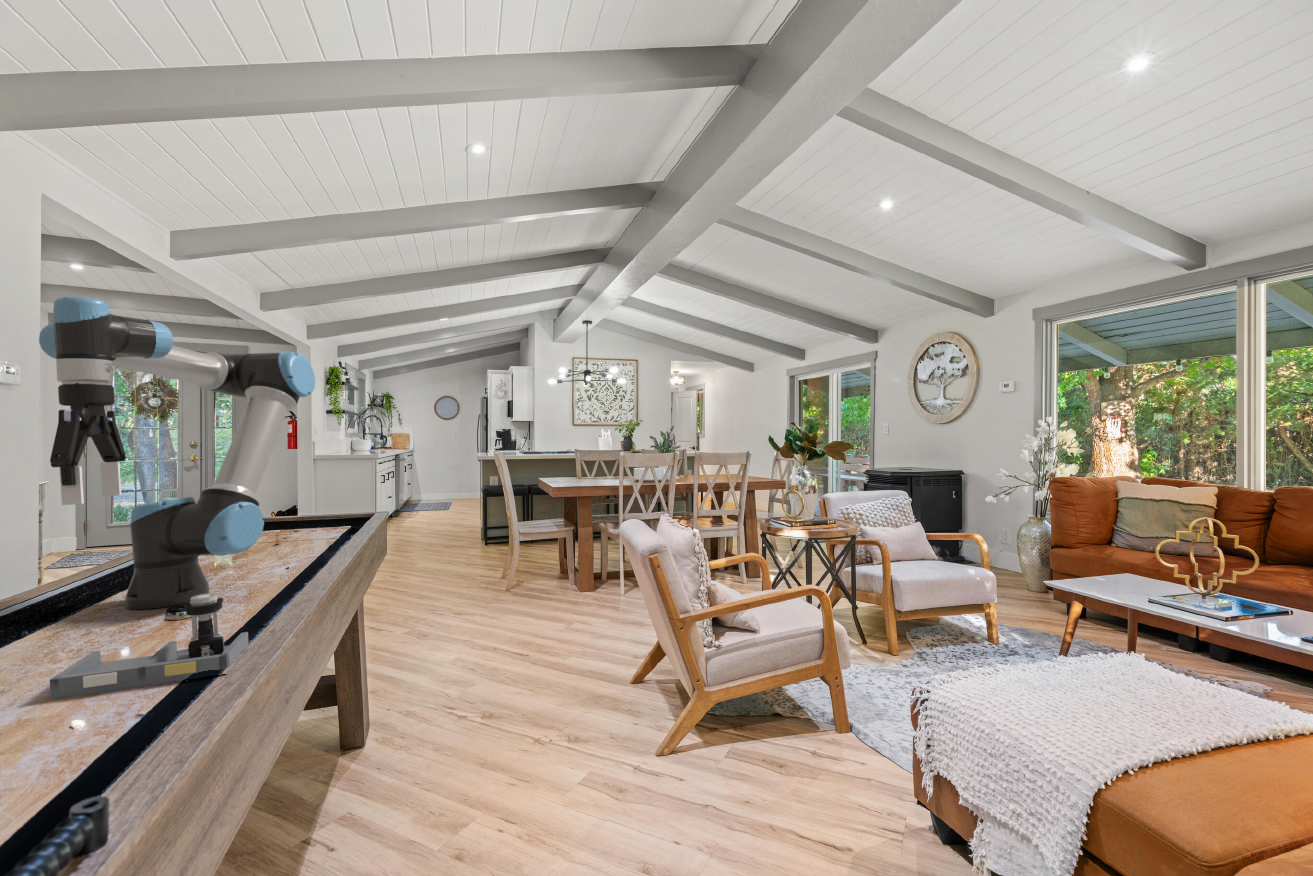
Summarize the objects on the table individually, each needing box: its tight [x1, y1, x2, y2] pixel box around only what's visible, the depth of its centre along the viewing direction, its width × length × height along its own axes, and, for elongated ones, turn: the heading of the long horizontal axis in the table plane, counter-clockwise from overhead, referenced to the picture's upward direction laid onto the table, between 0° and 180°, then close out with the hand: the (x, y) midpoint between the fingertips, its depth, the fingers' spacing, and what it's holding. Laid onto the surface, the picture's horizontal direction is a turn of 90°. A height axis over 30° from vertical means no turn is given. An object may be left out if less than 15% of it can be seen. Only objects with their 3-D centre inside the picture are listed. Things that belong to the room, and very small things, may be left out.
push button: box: [176, 592, 225, 659], centre depth 103 cm, size 7×5×10 cm
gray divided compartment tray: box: [49, 631, 250, 701], centre depth 100 cm, size 12×22×3 cm, turn 110°
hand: (93, 499), depth 113 cm, fingers open, 13 cm apart
